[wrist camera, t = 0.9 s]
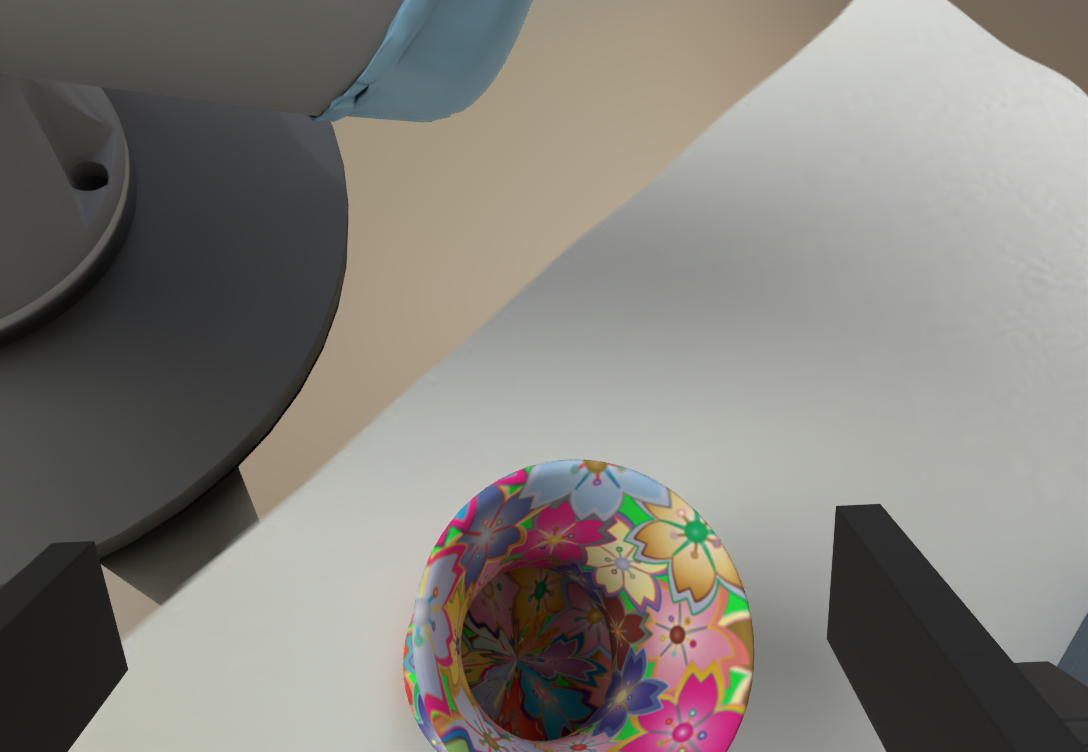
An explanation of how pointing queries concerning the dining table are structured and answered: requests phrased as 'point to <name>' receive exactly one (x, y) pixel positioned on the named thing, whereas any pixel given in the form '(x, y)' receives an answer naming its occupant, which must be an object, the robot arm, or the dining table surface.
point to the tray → (1077, 655)
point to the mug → (579, 620)
